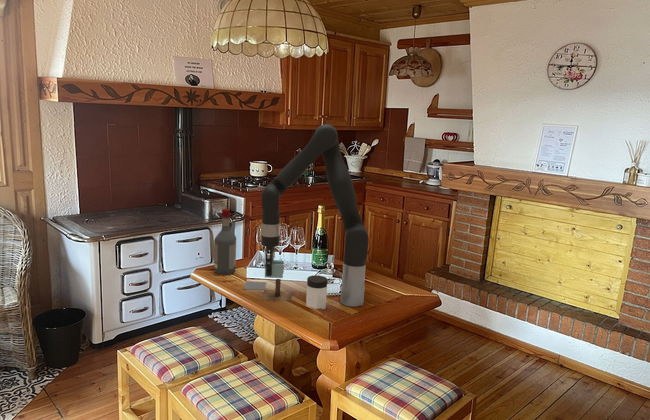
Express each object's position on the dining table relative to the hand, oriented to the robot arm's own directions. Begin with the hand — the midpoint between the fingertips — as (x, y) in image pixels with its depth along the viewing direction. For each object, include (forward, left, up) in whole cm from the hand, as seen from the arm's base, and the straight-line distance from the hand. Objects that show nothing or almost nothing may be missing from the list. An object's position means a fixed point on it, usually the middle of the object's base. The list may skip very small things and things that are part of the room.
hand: (269, 272), depth 203 cm
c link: (-2, 0, -1) cm, 2 cm away
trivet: (+7, -10, -11) cm, 16 cm away
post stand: (-4, 0, -11) cm, 11 cm away
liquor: (+23, -28, -11) cm, 38 cm away
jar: (-20, +7, -11) cm, 24 cm away
